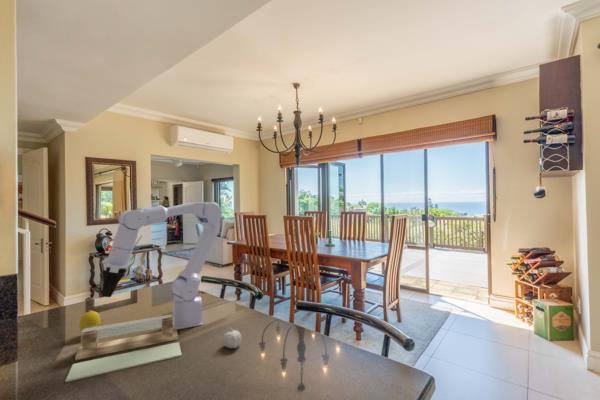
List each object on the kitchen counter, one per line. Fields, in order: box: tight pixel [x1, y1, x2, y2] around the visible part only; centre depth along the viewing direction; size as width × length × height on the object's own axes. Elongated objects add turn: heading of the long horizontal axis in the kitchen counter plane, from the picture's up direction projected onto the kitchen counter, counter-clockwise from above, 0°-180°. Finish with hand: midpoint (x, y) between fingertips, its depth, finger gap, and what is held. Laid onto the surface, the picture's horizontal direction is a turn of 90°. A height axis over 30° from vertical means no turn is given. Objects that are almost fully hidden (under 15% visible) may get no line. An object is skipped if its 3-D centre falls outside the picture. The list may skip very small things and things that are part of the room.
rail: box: [80, 313, 174, 343], centre depth 89 cm, size 24×3×3 cm, turn 117°
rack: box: [75, 313, 179, 361], centre depth 89 cm, size 26×6×6 cm, turn 117°
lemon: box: [78, 309, 101, 333], centre depth 95 cm, size 6×6×8 cm
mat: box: [64, 341, 182, 383], centre depth 80 cm, size 26×8×1 cm, turn 117°
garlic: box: [222, 327, 242, 349], centre depth 88 cm, size 6×5×5 cm
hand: (107, 294), depth 87 cm, fingers open, 7 cm apart
